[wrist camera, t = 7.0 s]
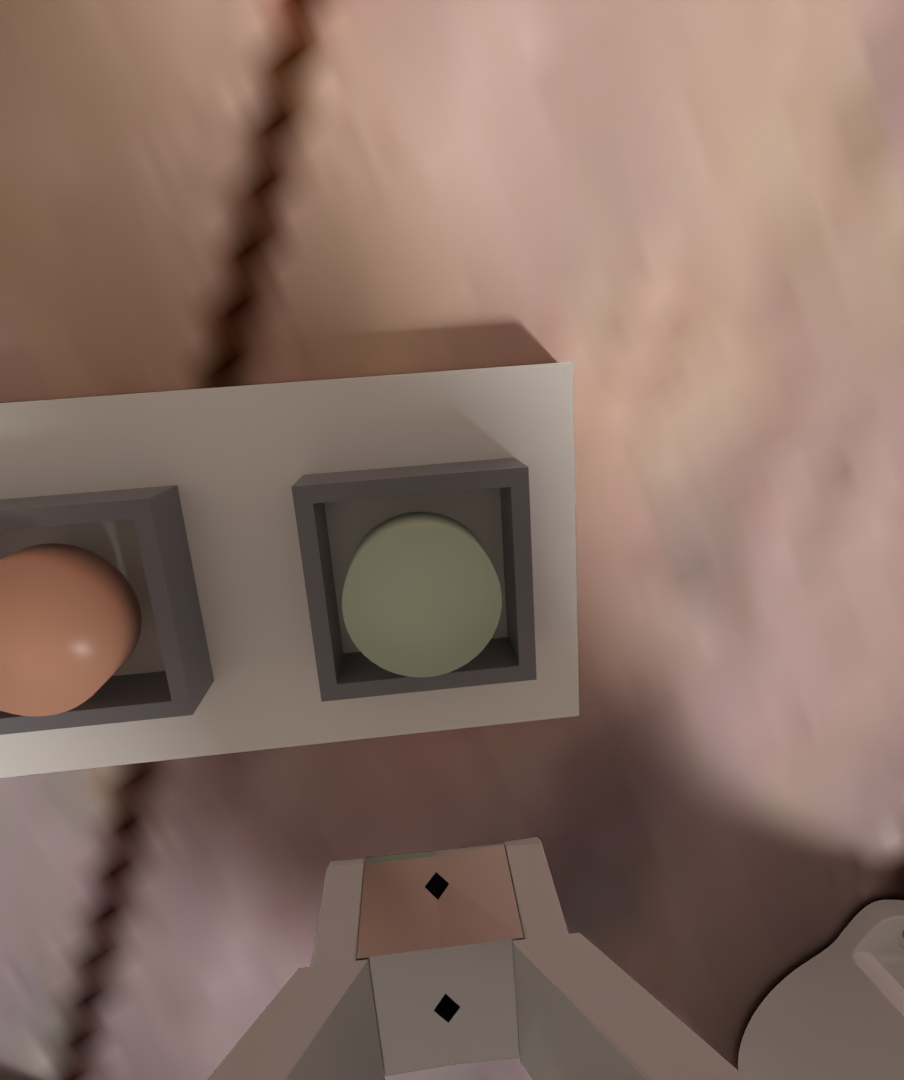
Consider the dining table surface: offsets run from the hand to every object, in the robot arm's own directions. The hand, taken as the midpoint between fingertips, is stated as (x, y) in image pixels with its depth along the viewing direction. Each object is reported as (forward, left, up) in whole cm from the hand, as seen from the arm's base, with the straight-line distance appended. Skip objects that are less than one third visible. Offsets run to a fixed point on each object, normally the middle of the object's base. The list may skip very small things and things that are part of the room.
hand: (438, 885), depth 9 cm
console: (+12, 0, -17) cm, 21 cm away
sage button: (0, 0, -13) cm, 13 cm away
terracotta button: (+12, 0, -13) cm, 18 cm away
